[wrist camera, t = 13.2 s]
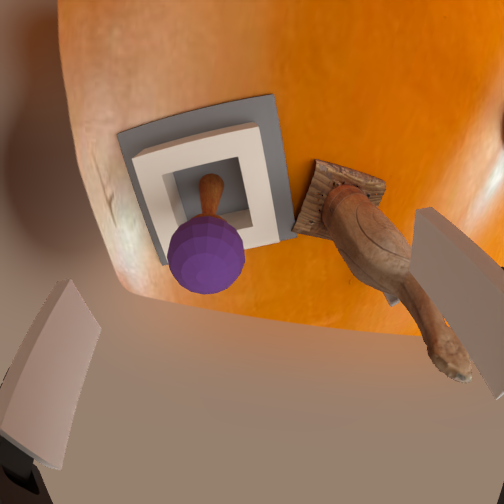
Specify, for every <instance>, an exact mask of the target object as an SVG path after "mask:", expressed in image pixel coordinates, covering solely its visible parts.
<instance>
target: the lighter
mask: <svg viewBox="0 0 504 504" xmlns="http://www.w3.org/2000/svg"><path fill="white" fill-rule="evenodd" d="M383 294H384V296H385V297H386V299H387V301H388V303H389V305H390V306H391V307H392V306H394V305H396V304H397V303H399V301H400V300H399V298H397V297H396V296H393V295H390V294H388V293H385V292H383Z"/></svg>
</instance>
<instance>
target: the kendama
mask: <svg viewBox="0 0 504 504" xmlns="http://www.w3.org/2000/svg"><path fill="white" fill-rule="evenodd" d="M198 186H199V194H200V201H201V208H202V214H198V215H196V216H194V217H193V218H191V219H190V220H189V221H187V222H185V223H183V224H181V225H180V226H179V227H178V229H177V230H176V231H175V232H174V234H173V235H172V237H171V240H170V244H169V248H168V253H167V260H168V264H169V268H170V270H171V272H172V274H173V276H174V277H175V279H176V280H177V281H178V282H179V284H180V285H181V286H183V287H184V288H186V289H188V290H189V291H191V292H195V293H200V294H213V293H218V292H220V291H222V290H225V289H227V288H228V287H229V286H230V285H231V284H232V283H233V282H234V281H235V280H236V279H237V278H238V276H239V275H240V273H241V271H242V268H243V265H244V263H245V256H244V246H243V240H242V239H241V237H240V235H239V234H238V232H237V230H236V229H235V228H234V227H232V226H231V225H230V224H228V223H227V221H226V220H224V219H223V218H222V217H220V216H219V215H216V212H217V208H218V205H219V202H220V199H221V196H222V192H223V189H224V182H223V180H222V178H221V177H220V176H218V175H216V174H213V173H212V174H206V175H205V176H203V177H202V178H201V179H200V181H199V184H198Z"/></svg>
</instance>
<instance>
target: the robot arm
mask: <svg viewBox="0 0 504 504" xmlns="http://www.w3.org/2000/svg"><path fill="white" fill-rule="evenodd" d="M409 271H410V273H411V274H412V275H413V276H414V278H415V279H416V280H417V282H418V283H419V284H420V286H421V287H422V288H423V289H424V291H425V292H426V293H427V295H428V296H429V297H430V299H431V300H432V302H433V303H434V304H435V306H436V307H437V308H438V310H439V311H440V313H441V314H442V315H443V317H444V318H445V320H446V321H447V323H448V324H449V325H450V327H451V328H452V330H453V331H454V333H455V334H456V336H457V337H458V339H459V340H460V342H461V343H462V345H463V346H464V348H465V349H466V351H467V353H468V354H469V356H470V357H471V359H472V360H473V362H474V364H475V365H476V367H477V369H478V370H479V372H480V374H481V375H482V377H483V379H484V380H485V382H486V384H487V386H488V387H489V389H490V391H491V393H492V394H493V396H494V398H495V400H497V399H498V398H500V397H501V396H503V395H504V267H500V266H499V265H498V264H497V263H496V262H495V261H494V260H493V259H492V258H491V257H490V256H488V255H487V254H486V253H485V252H484V251H483V250H482V249H481V248H480V247H479V246H478V245H477V244H475V243H474V242H473V241H472V240H471V239H470V238H469V237H468V236H466V235H465V234H464V233H463V232H462V231H461V230H459V229H458V228H457V227H456V226H455V225H453V224H452V223H451V222H450V221H449V220H447V219H446V218H445V217H444V216H443V215H441V214H440V213H439V212H437V211H436V210H435V209H434V208H432V207H428V208H423V209H417V210H416V213H415V224H414V234H413V243H412V251H411V259H410V266H409ZM100 332H101V328H100V326H99V324H98V323H97V321H96V320H95V318H94V316H93V315H92V313H91V312H90V310H89V309H88V307H87V305H86V304H85V302H84V300H83V299H82V297H81V295H80V293H79V292H78V290H77V288H76V286H75V285H74V283H73V281H72V279H67V280H62V281H58V282H57V283H56V285H55V286H54V288H53V289H52V291H51V293H50V294H49V296H48V298H47V299H46V301H45V302H44V304H43V306H42V307H41V310H40V311H39V313H38V314H37V316H36V318H35V320H34V321H33V323H32V325H31V327H30V329H29V331H28V332H27V334H26V336H25V338H24V340H23V342H22V344H21V346H20V348H19V350H18V352H17V354H16V356H15V358H14V360H13V362H12V364H11V366H10V367H9V369H8V371H7V373H6V375H5V377H4V379H3V383H2V384H1V386H0V504H53V502H52V500H51V498H50V496H49V494H48V491H47V489H46V486H45V484H44V482H43V479H42V477H41V474H40V471H39V470H38V468H37V466H35V465H34V464H33V460H34V459H35V460H36V461H38V462H40V463H41V464H43V465H44V466H47V467H50V468H54V469H57V470H62V464H63V459H64V455H65V450H66V446H67V441H68V437H69V433H70V429H71V425H72V421H73V417H74V413H75V410H76V406H77V403H78V399H79V395H80V392H81V389H82V385H83V382H84V379H85V376H86V373H87V370H88V367H89V364H90V360H91V358H92V355H93V352H94V349H95V346H96V343H97V340H98V338H99V335H100ZM497 504H504V483H503V487H502V490H501V493H500V496H499V499H498V502H497Z"/></svg>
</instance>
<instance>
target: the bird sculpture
mask: <svg viewBox="0 0 504 504" xmlns="http://www.w3.org/2000/svg"><path fill="white" fill-rule="evenodd" d="M315 161H316V169H315V173H314V176H313V178H312V181H311V184H310V188H309V190H308V192H307V194H306V198H305V199H304V202H303V206H302V208H301V211H302V212H300V214H299V216H298V218H300V219H297V222H296V223H295V225H294V226H293V228H292V230H291V232H294V233H299V234H305V235H309V236H314V237H320V238H324V239H328V240H333V241H334V243H335V246H336V247H337V248H338V251H339V253H340V254H341V256H342V258H343V259H344V261H345V262H346V263H347V265H348V267H349V269H350V270H351V272H352V273H353V275H354V276H355V277H356V278H357V279H358V280H360V281H361V282H363V283H365V284H366V285H369V286H371V287H373V288H375V289H377V290H380V291H382V292H385V293H388V294H390V295H393V296H396V297H397V298H399V300H400V301H401V302H402V303H403V304H404V306H405V307H406V308H407V310H408V311H409V312H410V314H411V316H412V317H413V318H414V320H415V322H416V323H417V325H418V328H419V329H420V331H421V334H422V336H423V340H424V342H425V344H426V345H427V350H428V355H429V357H430V359H431V360H432V362H433V364H435V366H436V367H437V368H438V369H439V371H440V372H443V373H445V374H446V375H447V377H450V378H451V379H453V380H455V381H458V382H461V383H469V382H470V381H471V379H472V369H471V364H470V361H471V360H472V359H471V357H470V356H469V354H468V353H467V351H466V349H465V348H464V346H463V345H462V343H461V342H460V340H459V339H458V337H457V336H456V334H455V333H454V331H453V330H452V328H450V327H448V326H447V325H446V323H445V321H444V317H443V315H442V314H441V313H440V311H439V310H438V308H437V307H436V306H435V304H434V303H433V302H432V300H431V299H430V297H429V296H428V295H427V293H426V292H425V291H424V289H423V288H422V287H421V286H420V284H419V283H418V282H417V280H416V279H415V278H414V276H413V275H412V274H411V273H410V271H409V266H410V259H411V251H412V248H411V247H410V245H409V244H408V242H407V241H406V239H405V238H404V236H403V235H402V234H401V232H400V231H399V230H398V229H397V228H396V227H395V225H394V224H393V223H392V222H391V221H390V220H389V219H388V218H387V217H386V216H385V215H384V214H383V213H382V212H381V211H380V210H379V209H378V206H379V203H380V201H381V200H382V196H383V195H384V192H385V190H386V185H385V182H384V181H383V180H381V179H379V178H375V177H374V176H370V175H368V174H366V173H362V172H359V171H356V170H353V169H351V168H346V167H342V166H340V165H336V164H332V163H329V162H325V161H321V160H317V159H315ZM331 180H332V181H333V180H334V182H336V183H335V186H333V182H332V181H331ZM344 181H345V182H344ZM342 182H344V185H342ZM355 184H357V186H359V188H357V186H356V185H355ZM352 185H353V186H352ZM333 187H335V188H333ZM360 187H361V188H360ZM315 193H316V194H315ZM318 193H319V194H320V193H321V194H323V197H322V196H321V194H320V195H318ZM327 193H328V195H327ZM365 194H366V195H365ZM376 194H377V195H376ZM318 199H320V200H319V201H318ZM369 199H370V200H369ZM321 203H322V205H320V204H321ZM318 205H319V206H318ZM317 207H318V208H317ZM302 209H303V210H302ZM319 209H320V210H321V211H320V212H318V210H319ZM321 212H322V213H321ZM314 217H315V219H314ZM317 217H318V218H317ZM302 220H303V221H302ZM321 220H322V222H320V221H321ZM311 221H312V222H311ZM305 224H306V225H305ZM324 224H325V226H324Z"/></svg>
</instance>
